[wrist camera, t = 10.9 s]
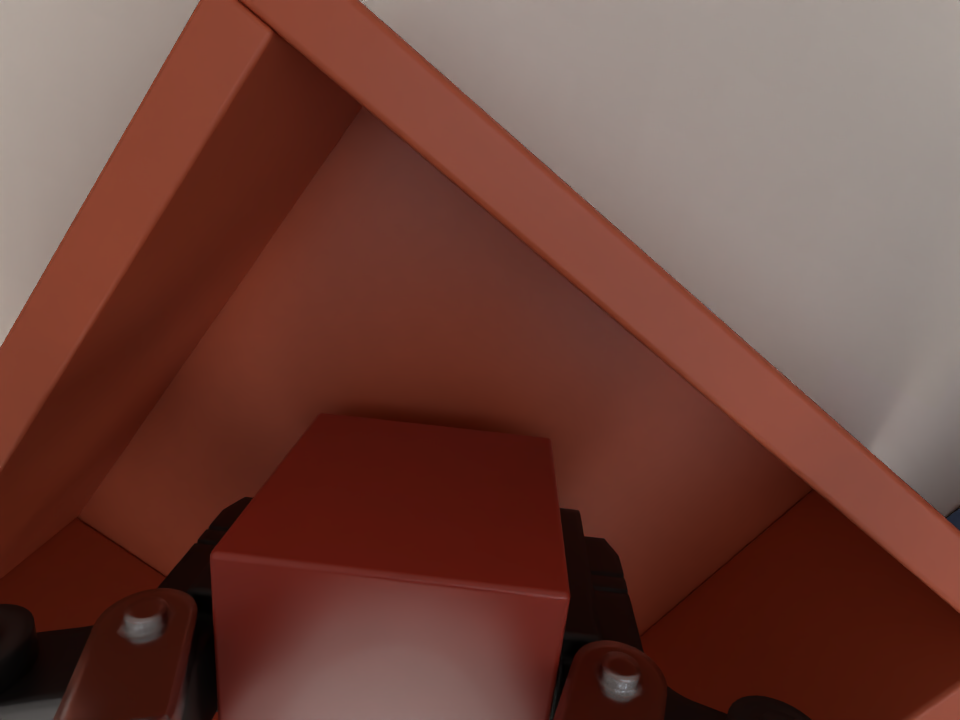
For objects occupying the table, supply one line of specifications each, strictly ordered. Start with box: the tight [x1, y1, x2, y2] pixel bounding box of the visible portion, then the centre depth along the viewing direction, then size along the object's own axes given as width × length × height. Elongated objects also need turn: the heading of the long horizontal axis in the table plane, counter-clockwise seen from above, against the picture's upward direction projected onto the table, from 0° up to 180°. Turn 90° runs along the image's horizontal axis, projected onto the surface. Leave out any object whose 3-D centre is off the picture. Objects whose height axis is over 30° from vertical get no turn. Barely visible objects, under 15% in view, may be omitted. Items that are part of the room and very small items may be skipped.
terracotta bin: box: [0, 0, 960, 720], centre depth 12 cm, size 14×14×6 cm
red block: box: [210, 413, 570, 720], centre depth 11 cm, size 5×5×5 cm
